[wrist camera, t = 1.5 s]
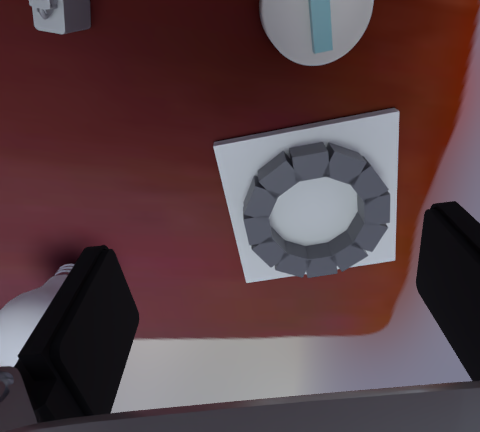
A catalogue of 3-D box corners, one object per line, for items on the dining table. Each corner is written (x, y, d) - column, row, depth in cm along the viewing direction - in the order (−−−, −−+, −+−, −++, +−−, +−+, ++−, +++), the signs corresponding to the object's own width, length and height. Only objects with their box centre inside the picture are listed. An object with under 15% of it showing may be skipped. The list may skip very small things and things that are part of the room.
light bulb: (109, 244, 34) (59, 339, 25) (113, 297, 37) (71, 398, 28) (35, 238, 34) (-44, 332, 24) (47, 292, 37) (-19, 393, 28)
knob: (251, -38, 23) (255, -48, 18) (347, -61, 23) (378, -77, 18) (266, 62, 26) (272, 77, 21) (351, 44, 26) (378, 56, 21)
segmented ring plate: (213, 141, 29) (211, 156, 26) (394, 107, 28) (410, 119, 25) (246, 276, 36) (246, 297, 33) (391, 254, 35) (403, 274, 32)
